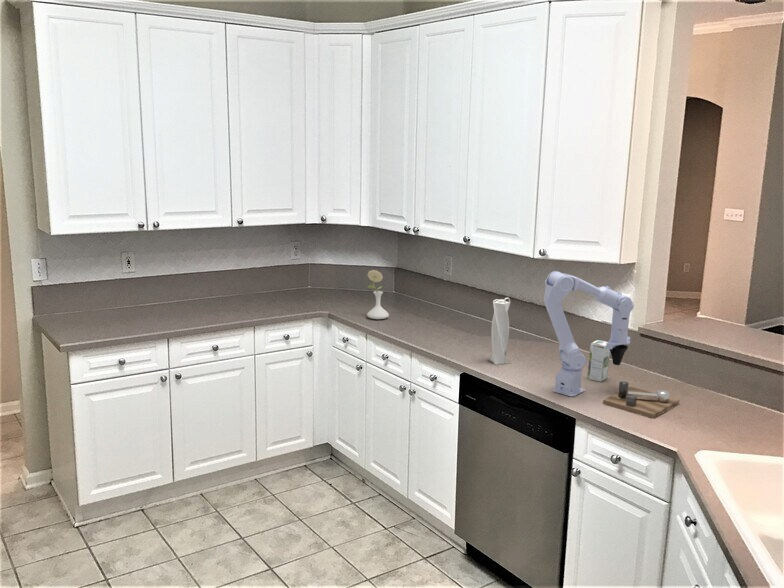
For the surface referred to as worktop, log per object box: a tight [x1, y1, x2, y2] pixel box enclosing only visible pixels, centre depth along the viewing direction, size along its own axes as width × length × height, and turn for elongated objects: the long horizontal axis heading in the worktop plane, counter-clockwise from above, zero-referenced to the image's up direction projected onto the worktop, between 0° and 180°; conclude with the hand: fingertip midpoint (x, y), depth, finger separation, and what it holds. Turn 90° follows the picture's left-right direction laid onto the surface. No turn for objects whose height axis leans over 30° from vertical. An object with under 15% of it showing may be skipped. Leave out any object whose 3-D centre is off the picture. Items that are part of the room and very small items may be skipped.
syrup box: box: [586, 339, 611, 383], centre depth 255 cm, size 6×6×14 cm
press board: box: [602, 386, 680, 419], centre depth 231 cm, size 20×18×4 cm
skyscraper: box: [489, 297, 512, 365], centre depth 273 cm, size 8×8×28 cm
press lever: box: [617, 380, 670, 402], centre depth 231 cm, size 4×16×5 cm, turn 79°
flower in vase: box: [366, 269, 390, 320], centre depth 344 cm, size 13×11×25 cm
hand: (616, 364), depth 244 cm, fingers closed
